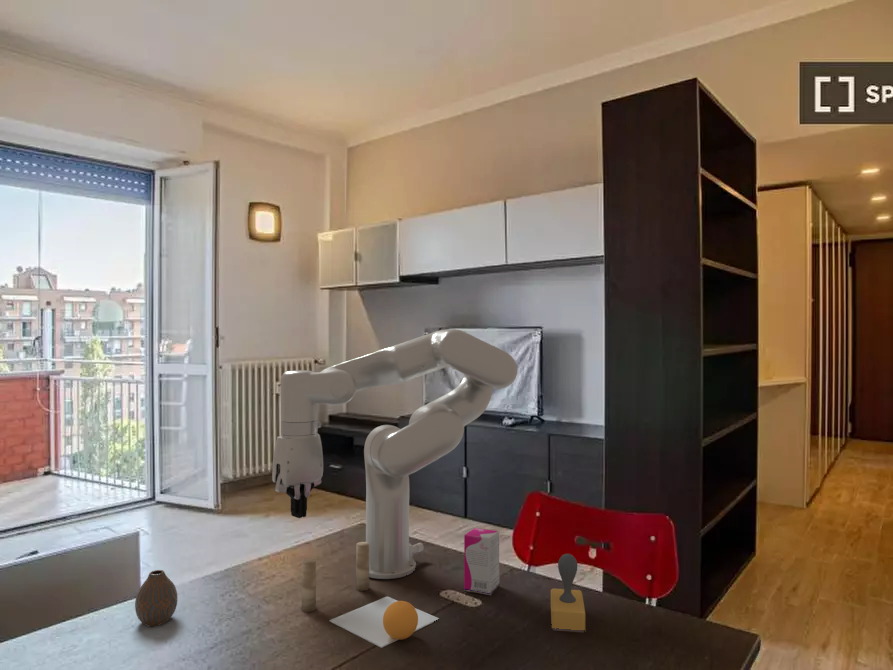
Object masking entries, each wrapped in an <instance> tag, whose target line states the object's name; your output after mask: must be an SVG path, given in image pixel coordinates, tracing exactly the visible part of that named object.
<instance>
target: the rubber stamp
mask: <svg viewBox="0 0 893 670" xmlns="http://www.w3.org/2000/svg"><path fill="white" fill-rule="evenodd" d="M557 569H558V573H559V575H560V579H561V581H562V584H563V585H562V586H563V588H552V589H550V620H551V621H550V623H551V624H552V625H551V629H552V628H555V629H556V628H559V629H571V630H585V631H586V610H585V604H584V597H583V592H582V590H580V589H572V586H573V582H574V580H575V578H576V575H577V571H578V561H577V559H576V557H575V556H574V555H573V554H571V553H564V554H562V555H561V556H560V558H559V560H558V563H557Z"/></svg>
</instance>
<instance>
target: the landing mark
mask: <svg viewBox="0 0 893 670" xmlns="http://www.w3.org/2000/svg"><path fill="white" fill-rule="evenodd" d="M396 601H398V600H396V599H394V598H392V597H390V596H384V597H382V598H380V599H378V600H375V601H373V602H370V603H367V604H366V605H363V606H361V607H358V608H356V609H353V610H351V611H348V612H345V613H343V614H342V615H339V616H337V617H334V618H332V619H330V620H329V619H328V620H329V623H332V624H334V625H335V626H338V627H339V628H342V629H343V630H345V631H348V632H350V633H351V634H353V635H355V636H357V637H359V638H361V639H363V640H364V641H366V642H369V643H370V644H373V645H374V646H377V647H379V648H380V649H382V648H384V647H387V646H388V645H391V644H392V643H394V642H396V641H399V639H394V638H392V637H391V636H389V635H388V634H387V632H386V631H385V629H384V626H383V616H384V613H385V611H386V609H387V608H388V606H389V605H391V604H392V603H394V602H396ZM414 608H415V607H414ZM415 610H416V612H417V615H418V625H417V628H416V630H415V631H414V633H415V632H417V631H419V630H421V629H423V628H426V627H427V626H429V625H431V624H433V623H435V622H436V620H437V621H439V620H440V618H439V617H437V616H434V615H432V614H430V613H427V612H426V611H423V610H421V609H418V608H415ZM438 619H439V620H438ZM434 621H435V622H434Z"/></svg>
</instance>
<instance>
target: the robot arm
mask: <svg viewBox="0 0 893 670" xmlns="http://www.w3.org/2000/svg"><path fill="white" fill-rule="evenodd" d="M445 368H451V369H453V370H456V371H457V372H459V373H461V374H463V376H462V380H461V382H460V383H459V385H457V386H456V387H455V388H454V389H452V390H450V391H449V392H447V393H445V394H444V395H442V396H440V397H438V398H436V399H434V400H432V401H430V402H429V403H426V404H424V405H422V406H419V408H417V409H416V410H415V411H414V412H413V413H412V415H411V416H410V417H409V422H408V424H407V425H406V426H404V427H402V428H399V427H397V426H395V425H392V424H383V425H380V426H377V427H375V428H373V429H372V430H371V431H370V432H369V434H368V435H367V437H366V439H365V442H364V446H363V447H364V448H363V456H364V457H363V458H364V468H365V483H366V484H365V486H366V487H365V488H366V489H365V490H366V491H365V492H366V494H365V495H366V496H365V502H366V503H365V542H368V543H369V579H370V578H371V579H378V580H391V579H392V580H393V579H398V578H399V579H400V578H403V577H406V575H407V576H409V575H411V574H412V573H414V572H415V570H416V569H415V568H417V563H416V561H415V559H414V558H413V556H414V555H415V554H417V553H420V552H423V551H424V547H425V546H424V544H423V543H422V542H418V543H415V544H412V543H411V542H410V478H409V477H410V475H412V474H414V473H416V472H418V471H420V470H421V469H423V468H425V467H427V466H429V465H431V464H432V463H434V462H436V461H437V460H439V459H441V458H443V457H444V456H446V455H447V454H449V453H450V452H452V451H453V450H455V449H456V448H457V446H459V444H460V443H461V441H462V439H463V437H464V432H465V428H464V427H466V426H467V425H469V424H470V423H472V422H473V421H475V420H477V419H478V418H479V417H480V416H481V415H482V414H484V412H486V410H487V408H488V406H489V404H490V402H491V399H492V395H493V391H494V389H495V390H501V389H506V388H507V387H509V386H511V385H512V384H513V383H514V382H515V380H516V378H517V376H518V366H517V363H516V359H514V357H513V356H512V355H510V354H509V353H508V352H507V351H505V350H503V349H502V348H499V347H496V346H494V345H492V344H490V343H488V342H486V341H484V340H483V339H480V338H478V337H476V336H474V335H472V334H470V333H468V332H466V331H463V330H460V329H455V328H454V329H453V328H452V329H440V330H436V331H433V332H431V333H430V332H429V333H427V334H424V335H421V336H418V337H416V338H412V339H410V340H407V341H404V342H401V343H397V344H395V345H392V346H389V347H385V348H383V349H379V350H377V351H375V352H372V353H368V354H365V355H363V356H360V357H356V358H353V359H350V360H347V361H343V362H341V363H337V364H335V365H332V366H329V367H326V368H324V369H323V370H321V371H319V372H315V371H313V370H305V369H304V370H296V369H295V370H287V371H284V372H283V373H282V375H281V379H280V390H281V391H280V436H277V437H276V441H275V444H274V445H275V446H274V450H273V459H272V467H271V468H272V472H271V473H272V475H271V477H272V478H271V480H272V482H273V483H275V489H274V490H275V492H278V493H284V494H286V495H287V496H288V498H290V513H291V514H290V515H291V516H292V517H295V518H297V519H301V518H306V517H307V511H308V498H309V497H310V495H311V492H312V490H313V489H314V488H315V487H317V486H320V484H322V482H323V481H322V478H323V476H324V475H323V473H324V455H323V453H324V452H323V445H322V439H321V435H320V434H319V433H318V429H320V428H322V422H321V421H320V420H318V415H319V414H318V413H319V412H318V410H319V409H318V408H319V407H318V404H319V405H329V406H342V405H345V404H347V403H349V402H350V401H351V400H352V399H354V397H355V394H356V393H357V392H361V391H363V390H366V389H371V388H375V387H380V386H393V385H399V384H404V383H407V382H409V381H412V380H414V379H417V378H419V377H423V376H426V375H428V374H431V373H435V372H436V371H440V370H443V369H445ZM413 571H414V572H413Z"/></svg>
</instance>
